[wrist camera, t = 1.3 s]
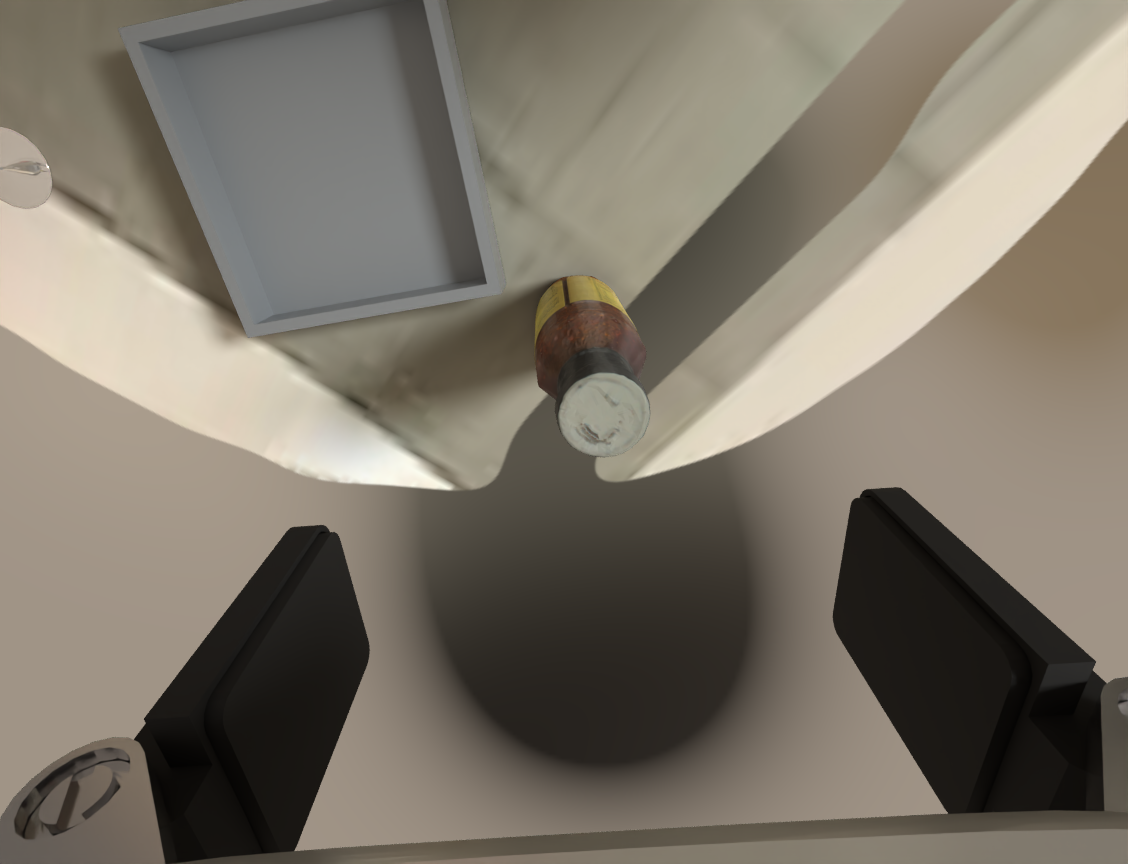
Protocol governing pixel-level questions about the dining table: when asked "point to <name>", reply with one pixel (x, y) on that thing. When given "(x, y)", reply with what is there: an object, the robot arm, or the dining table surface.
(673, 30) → the dining table surface
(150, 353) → the dining table surface
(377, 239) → the parts tray
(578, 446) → the sauce bottle
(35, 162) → the wineglass
